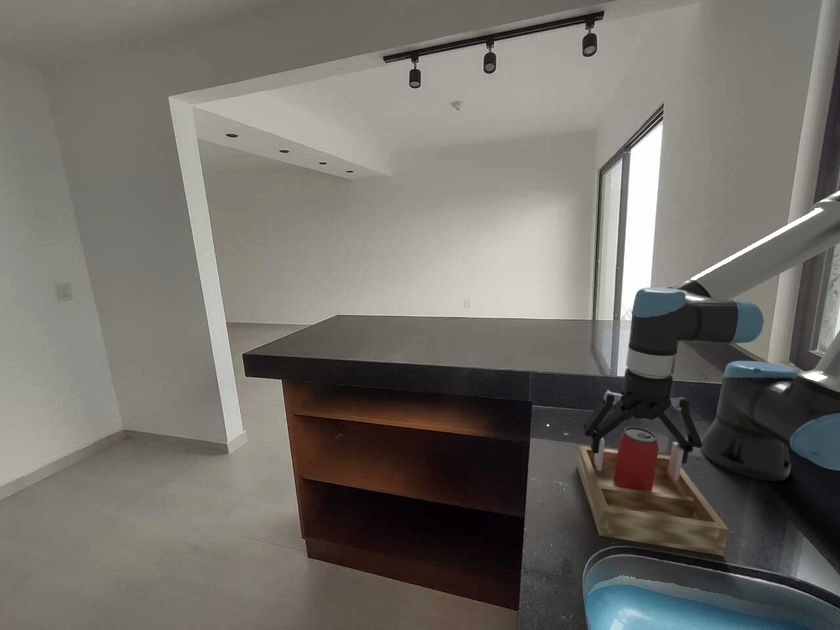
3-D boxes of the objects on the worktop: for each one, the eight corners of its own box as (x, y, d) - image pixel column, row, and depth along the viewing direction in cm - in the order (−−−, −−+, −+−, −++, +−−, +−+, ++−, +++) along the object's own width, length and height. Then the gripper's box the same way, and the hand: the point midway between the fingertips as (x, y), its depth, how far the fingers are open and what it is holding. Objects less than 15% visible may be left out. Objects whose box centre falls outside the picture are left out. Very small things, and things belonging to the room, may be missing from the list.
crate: (669, 477, 75) (672, 456, 74) (723, 555, 57) (728, 529, 56) (576, 465, 79) (578, 445, 78) (599, 535, 61) (602, 510, 60)
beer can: (657, 501, 68) (666, 445, 65) (620, 496, 69) (627, 441, 66) (643, 478, 74) (651, 426, 71) (609, 474, 75) (615, 423, 72)
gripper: (714, 368, 67) (696, 467, 71) (573, 359, 72) (564, 452, 77) (740, 384, 59) (717, 493, 64) (581, 373, 65) (571, 474, 70)
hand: (634, 471), depth 70 cm, fingers open, 13 cm apart
